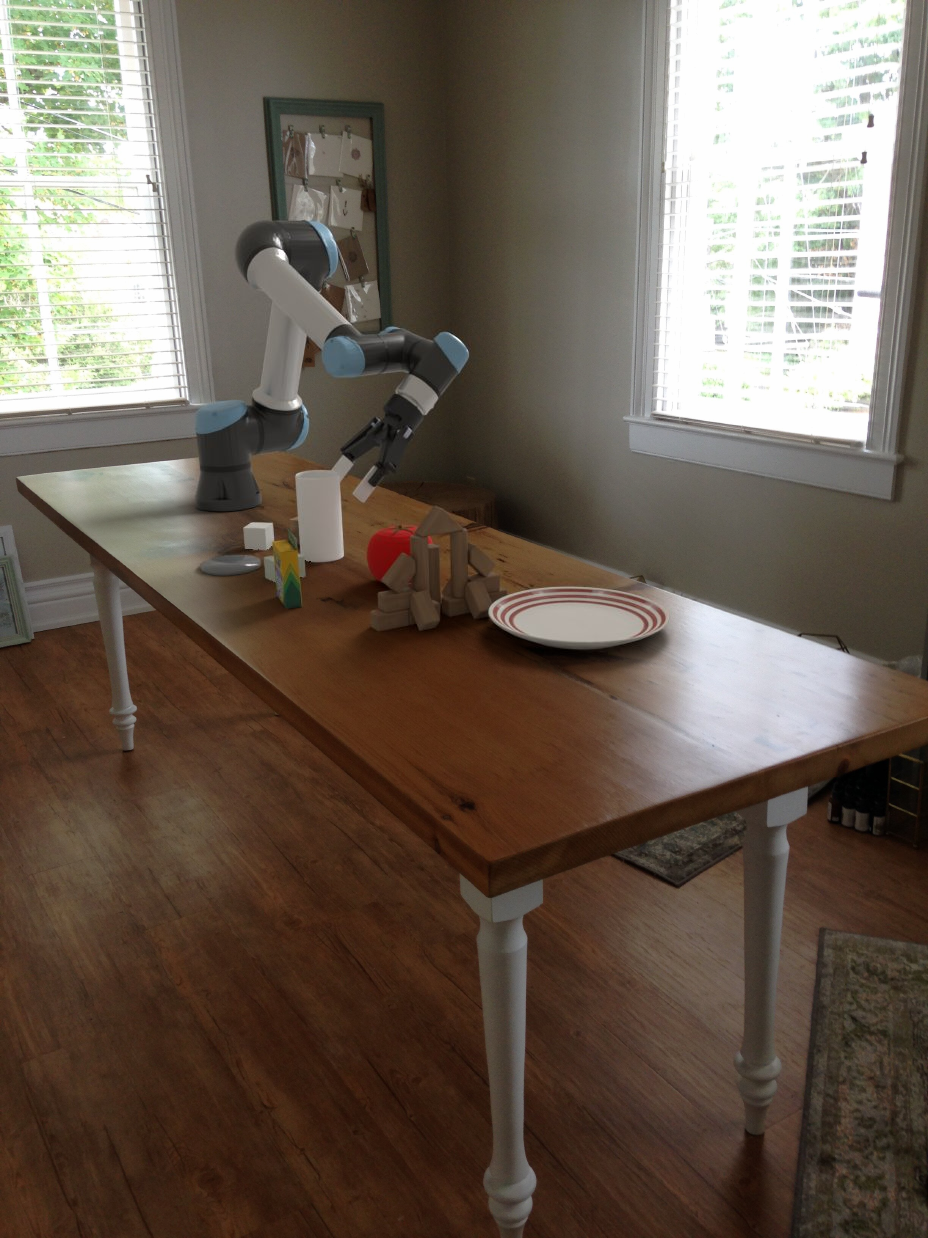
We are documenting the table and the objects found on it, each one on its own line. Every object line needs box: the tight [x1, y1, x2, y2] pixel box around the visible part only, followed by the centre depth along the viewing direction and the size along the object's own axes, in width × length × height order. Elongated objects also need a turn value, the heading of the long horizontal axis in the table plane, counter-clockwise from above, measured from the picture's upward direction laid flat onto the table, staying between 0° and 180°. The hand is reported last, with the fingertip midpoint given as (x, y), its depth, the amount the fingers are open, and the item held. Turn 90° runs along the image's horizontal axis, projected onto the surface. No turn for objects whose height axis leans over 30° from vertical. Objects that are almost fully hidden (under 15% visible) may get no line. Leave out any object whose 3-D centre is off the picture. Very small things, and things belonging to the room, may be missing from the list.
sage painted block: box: [263, 553, 307, 584], centre depth 187 cm, size 4×6×4 cm, turn 126°
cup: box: [294, 469, 345, 563], centre depth 198 cm, size 8×8×16 cm
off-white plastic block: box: [242, 521, 275, 551], centre depth 207 cm, size 4×4×4 cm
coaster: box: [199, 554, 262, 577], centre depth 194 cm, size 11×11×1 cm
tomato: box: [366, 524, 434, 584], centre depth 182 cm, size 12×12×10 cm
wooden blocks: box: [369, 505, 508, 632], centre depth 164 cm, size 25×12×18 cm, turn 121°
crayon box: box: [272, 528, 303, 610], centre depth 172 cm, size 7×3×12 cm, turn 21°
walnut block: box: [288, 515, 300, 545], centre depth 210 cm, size 5×5×5 cm
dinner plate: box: [488, 586, 671, 650], centre depth 159 cm, size 28×27×3 cm
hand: (342, 491), depth 197 cm, fingers open, 13 cm apart
